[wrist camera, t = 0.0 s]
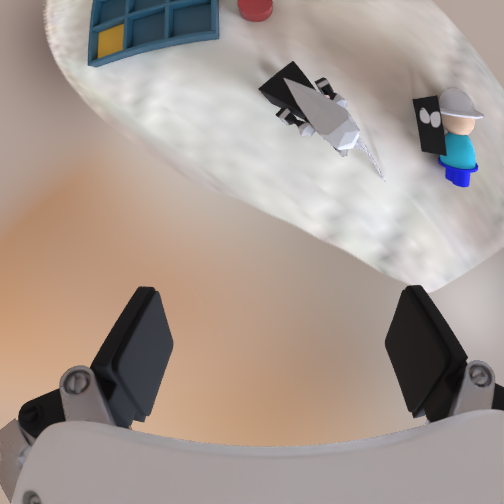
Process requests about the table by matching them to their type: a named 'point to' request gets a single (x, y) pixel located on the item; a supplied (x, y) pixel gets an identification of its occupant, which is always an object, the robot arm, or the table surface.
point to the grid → (147, 26)
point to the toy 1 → (314, 109)
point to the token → (255, 9)
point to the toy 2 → (456, 141)
